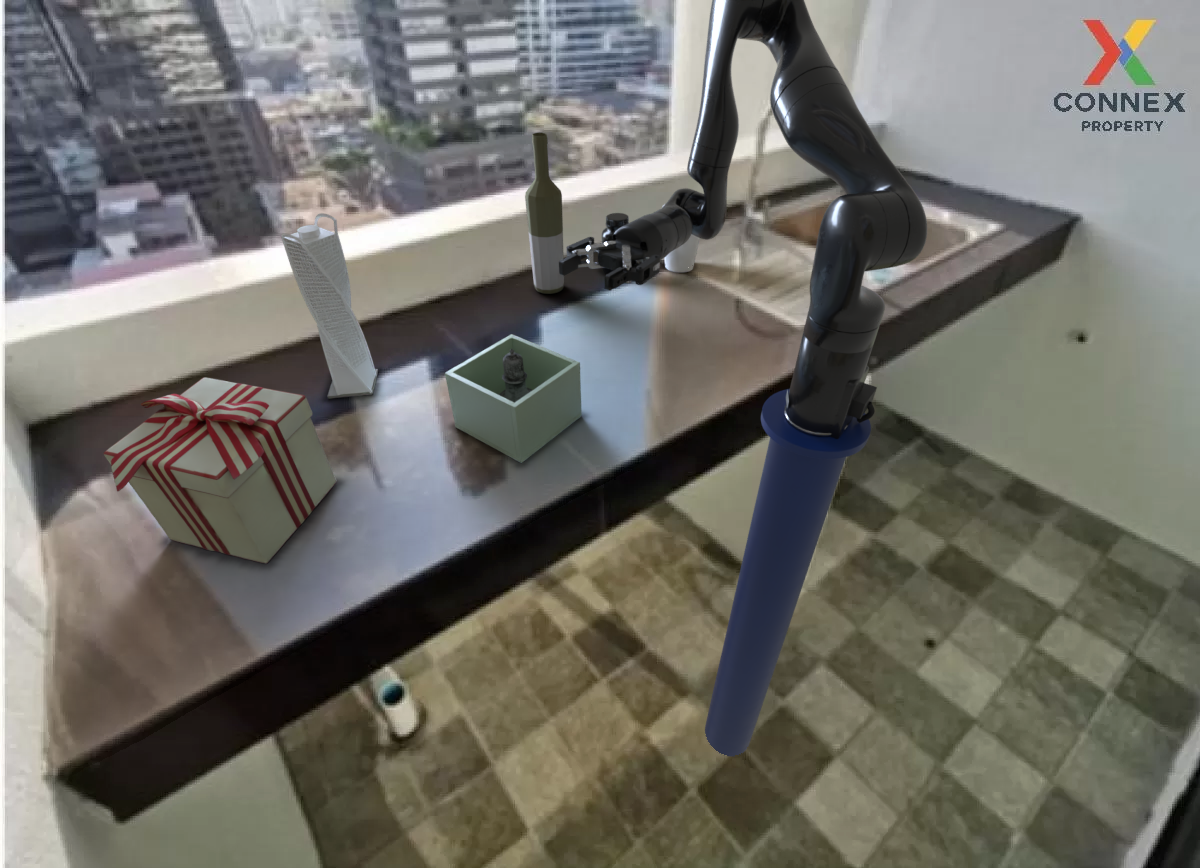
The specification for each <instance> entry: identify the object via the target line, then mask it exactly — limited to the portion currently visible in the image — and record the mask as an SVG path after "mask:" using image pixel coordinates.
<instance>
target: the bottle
mask: <svg viewBox="0 0 1200 868" xmlns="http://www.w3.org/2000/svg"><path fill="white" fill-rule="evenodd" d="M531 137H532V138H531V144H532V149H533V150H532V151H533V165H534V180H533V181H532V183H531V184H530V185H529V187H528V188H527V189H526V190H525V194H524V201H525V210H526V220H527V231H528V241H529V251H530V258H531V268H532V270H531V271H532V277H533V278H532V279H533V286H534V289H535V290H536V291H537V292H538V293H541V294H547V295H548V294H550V295H551V294H556V293H560V292H561V291H562V290H563V289H564V286H565V276H564V275H561V274H559V261H560V260H562V259H564V258H565V257H564V255H565V254H564V227H563V226H564V222H563V221H564V220H563V217H564V216H563V193H562V190H561V189H560V188H559V187H558V186H557V185H556V184H555V182H553V180H552V179H551V177H550V169H549V166H550V165H549V149H548V148H549V147H548V144H549V141H548V139H549V138H548V134H547V133H546V132H534V133H532V134H531Z"/></svg>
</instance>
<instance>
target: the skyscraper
mask: <svg viewBox="0 0 1200 868" xmlns="http://www.w3.org/2000/svg"><path fill="white" fill-rule="evenodd" d="M321 218H328V219H331V220H332V221H333V228H334V229H333V230H334V232H333V231H332V230H329V229H325V228H323V227H320V226H319V225H318V221H319V219H321ZM296 231H297V232H294V233H291V234H289V233H282V234H281V241H282V244H283V247H284V250H285V253H286V256H287V260H288V262H289V266H290V268H291V271H292V273H293V276H294V280H295V282H296V284H297V286H298V290H299V292H300V294H301V296H302V299H303V301H304V303H305V305H306V307H307V309H308V311H309V312H310V315H311V316H312V318H313V320H314V322H315V323H316V327H317V331H318V334H319V335H318V336H319V339H320V343H321V347H322V350H323V354H324V357H325V360H326V365H327V368H328V370H329V373H330V376H331V380H332V381H331V384H330V386H329V390H328V392H327V399H337V398H338V399H340V398H348V397H360V396H373V395H374V392H375V386H376V382H377V379H378V373H379V369H378V368H375V365H374V361H373V358H372V354H371V351H370V348H369V345H368V342H367V339H366V337H365V333H364V331H363V330H362V327H361V325H360V323H359V321H358V319H357V316H356V314H355V313H354V311H353V308H352V292H351V283H350V276H349V270H348V267H347V261H346V257H345V253H344V249H343V246H342V243H341V239H340V236H339V232H338V231H339V230H338V220H337V218H335V217H334V216H332V215H330V214H328V213H323V212H321V213H317V214H316V216H315V218H314V224H307V225H303V226H300V227H298V228H297V230H296Z"/></svg>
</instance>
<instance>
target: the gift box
mask: <svg viewBox="0 0 1200 868" xmlns="http://www.w3.org/2000/svg"><path fill="white" fill-rule="evenodd" d="M161 405H163V407H161V408H159V409H158V410H157V411H156V412H154V413H153V414H152V415H151V416H149V417H148V418H147V419H146V420H144V421H143V422H142V423H141V424H139V425H138V426H137V427H136V428H134V429H133V430H132V431H130V432H128V433H127V434H126V435H125V436H124V437H122V438H120V439H119V440H118V441H116V442H115V443H114V444H113V445H111V446H110V447H109V448H108V449H106V450H105V451H104V452H103V456H104V457H105V459H106V460H107V461H108V463H109V464H110V467H111V473H112V477H113V480H114V484H115V487H116V488H115V489H116V492H117V493H118V492H120V491H121V490H123V489H124V488H125V487H126V486H127V485H128V484H129V485H130V486H131V487H132V489H133V490H134V492H135V493H136V495H137V496H138V497H139V499H140V500H141V501H142V502H143V505H145V507H146V508H147V510H148V511H149V512H150V514H151V515H152V516H153V518H154V519H155V521H156V522H157V523H158V525H159V526H160V528H161V529H162V530H163V532H164V533H165V534H166V536H167V537H168V539H169V540H170V541H174V542H177V543H181V544H185V545H188V546H193V547H197V548H200V549H204V550H206V551H212V552H217V553H221V554H224V555H228V556H233V557H237V558H240V559H244V560H249V561H251V562H252V561H253V562H257V563H261V564H268V563H269V562H270V561H271V560H272V559H273V558H274V556H275V555H276V554H277V553H278V552H279V551H280V549H281V548H282V547H283V546H284V545H285V543H286V542H287V541H288V540H289V539H290V538H291V537H292V536H293V534H294V533H295V532H296V531H297V530H298V529H299V528H300V526H301V525H302V524H303V523H304V522H305V521H306V519H307V518H308V517H309V516H310V515H311V513H312V512H313V511H314V510H315V509H316V508H317V506H318V505H319V504H320V503H321V501H322V500H323V499H325V497H326V496H327V495H328V494H329V492H330V491H331V490H332V489H333V487H334V486H335V485H336V484H337V478H336V476H335V474H334V472H333V469H332V467H331V464H330V462H329V460H328V457H327V454H326V451H325V450H324V447H323V444H322V442H321V439H320V437H319V435H318V433H317V430H316V427H315V425H314V423H313V420H312V417H313V415H314V413H313V411H312V409H311V406H310V403H309V400H308V399H307V397H306V395H305V394H300V393H295V392H288V391H282V390H277V389H271V388H265V387H262V386H256V385H250V384H245V383H239V382H233V381H226V380H223V379H217V378H212V377H202V378H201V379H199V380H198V381H197V382H195V383H194V384H193V385H191V386H190V387H188V388H187V389H186V390H185V391H183V392H182V393H180V394H177V393H171V394H167V395H163V396H161V397H158V398H153V399H149V400H145V401H143V402H141V403H140V406H141V407H143V408H144V409H149V408H152V407H153V408H154V407H156V406H161Z"/></svg>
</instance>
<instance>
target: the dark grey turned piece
mask: <svg viewBox="0 0 1200 868" xmlns="http://www.w3.org/2000/svg"><path fill="white" fill-rule="evenodd" d="M509 352H510V353H508V354H506V355H505V356H504V357H503V367H504V374H503V376H502V379H503V381H505V387H506V390H504V391H502V392H501V393H500V394H499V395H500V396H502V397H504V398H506V399H508V400H510V401H512V402H514V403H515V402H516V401H518V400H519V399H521V398H522V397H524V396H525V395H527V394H528V393H530V392H531V391H533V390H532V389H530V388H527V387H526V381H525V380H526V379H527V374H526V373H525V372H524V366H523V358H522V356H521V355H520V354H518V353H514V350H513V349H511V350H510V351H509Z"/></svg>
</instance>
